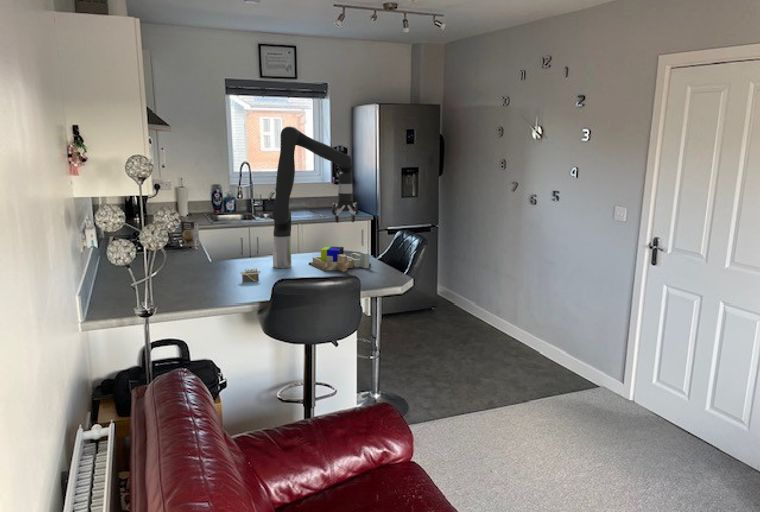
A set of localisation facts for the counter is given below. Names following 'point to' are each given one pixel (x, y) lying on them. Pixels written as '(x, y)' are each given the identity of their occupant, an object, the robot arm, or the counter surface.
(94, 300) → the counter surface
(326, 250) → the puzzle toy
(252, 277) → the wooden crate
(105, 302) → the counter surface
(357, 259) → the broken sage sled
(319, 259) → the beige lumpy mound
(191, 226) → the coffee box
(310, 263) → the lane rails
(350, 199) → the robot arm
